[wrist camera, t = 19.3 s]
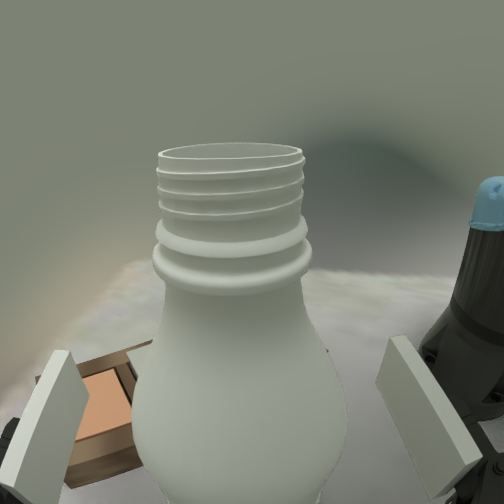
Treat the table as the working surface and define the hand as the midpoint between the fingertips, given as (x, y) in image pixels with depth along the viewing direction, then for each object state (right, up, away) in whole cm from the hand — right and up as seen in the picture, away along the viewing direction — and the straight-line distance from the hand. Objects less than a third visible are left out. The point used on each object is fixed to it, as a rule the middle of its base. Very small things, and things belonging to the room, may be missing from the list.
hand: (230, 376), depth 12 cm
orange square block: (-14, -11, +13) cm, 22 cm away
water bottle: (0, -16, +5) cm, 17 cm away
